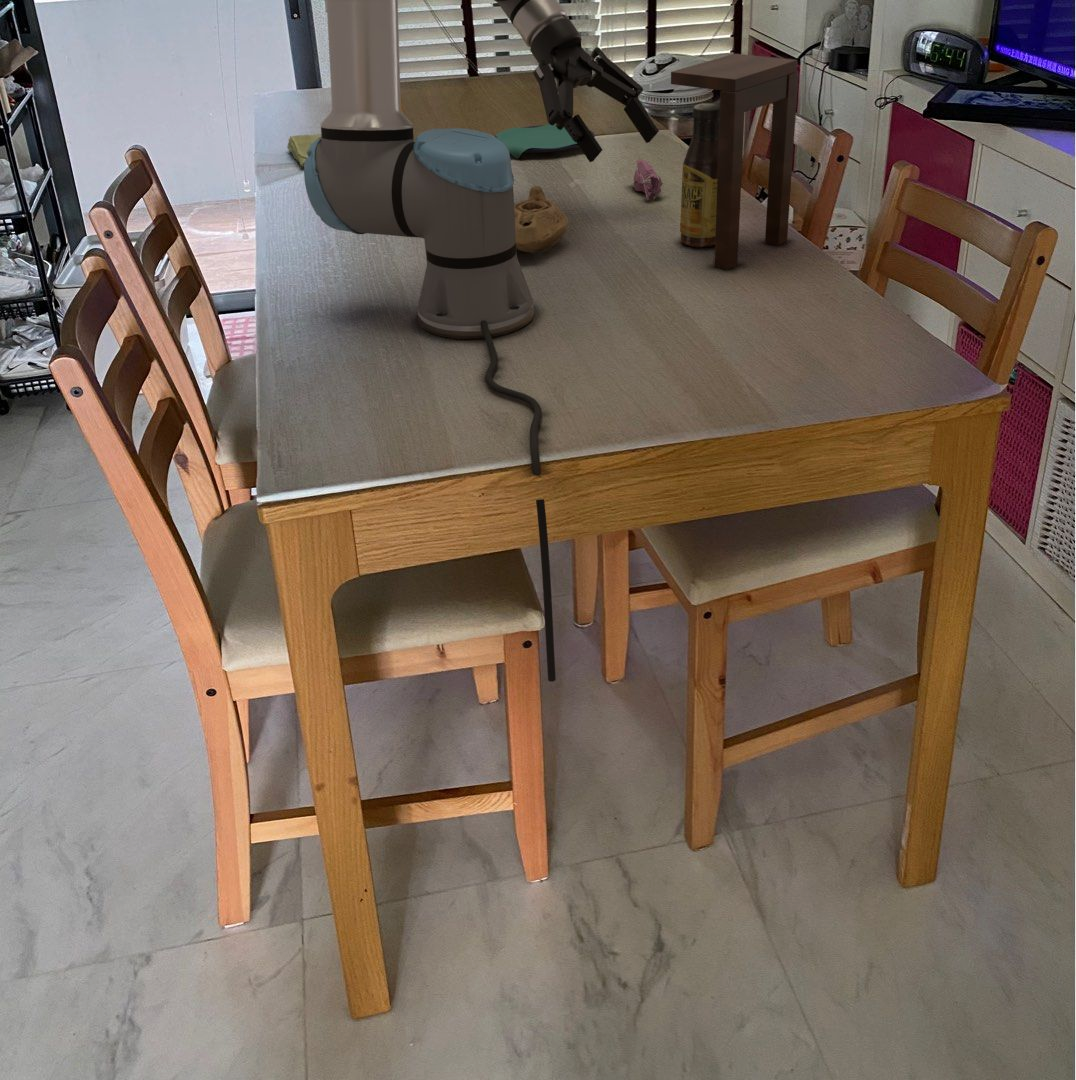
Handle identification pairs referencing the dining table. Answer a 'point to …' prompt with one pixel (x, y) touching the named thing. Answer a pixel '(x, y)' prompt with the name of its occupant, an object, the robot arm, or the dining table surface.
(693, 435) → the dining table surface
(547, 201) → the oil lamp
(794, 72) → the wooden step stool
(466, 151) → the robot arm
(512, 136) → the green pad
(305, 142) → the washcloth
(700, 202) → the sauce bottle
